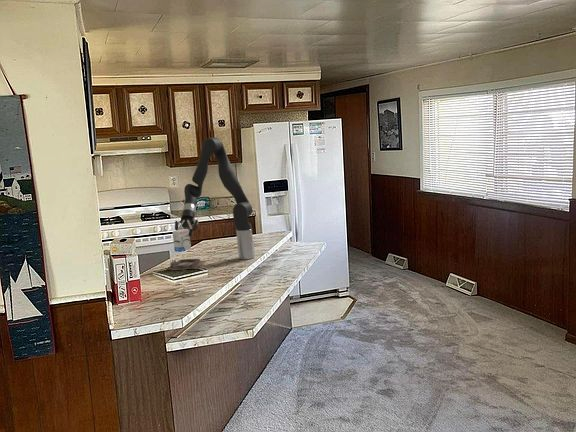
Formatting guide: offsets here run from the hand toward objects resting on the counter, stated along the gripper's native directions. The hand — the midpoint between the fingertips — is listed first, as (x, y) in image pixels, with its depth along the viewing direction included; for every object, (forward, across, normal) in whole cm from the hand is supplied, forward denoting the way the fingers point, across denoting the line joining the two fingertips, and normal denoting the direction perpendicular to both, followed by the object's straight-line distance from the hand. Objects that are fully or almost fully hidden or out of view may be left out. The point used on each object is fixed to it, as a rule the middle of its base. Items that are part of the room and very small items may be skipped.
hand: (184, 236), depth 303 cm
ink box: (+7, -1, +4) cm, 8 cm away
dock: (+14, 0, +11) cm, 18 cm away
